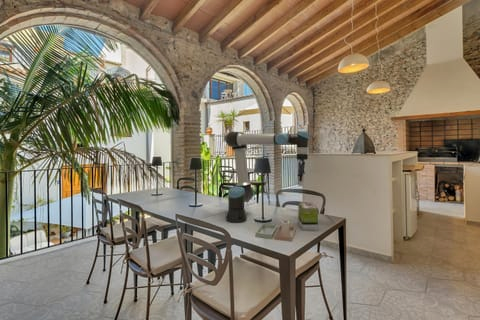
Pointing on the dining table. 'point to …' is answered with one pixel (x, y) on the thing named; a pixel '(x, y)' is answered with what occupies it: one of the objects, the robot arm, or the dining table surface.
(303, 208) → the tea box
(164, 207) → the dining table surface
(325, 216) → the dining table surface
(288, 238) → the tray
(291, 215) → the dining table surface
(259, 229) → the tray
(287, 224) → the letter block
